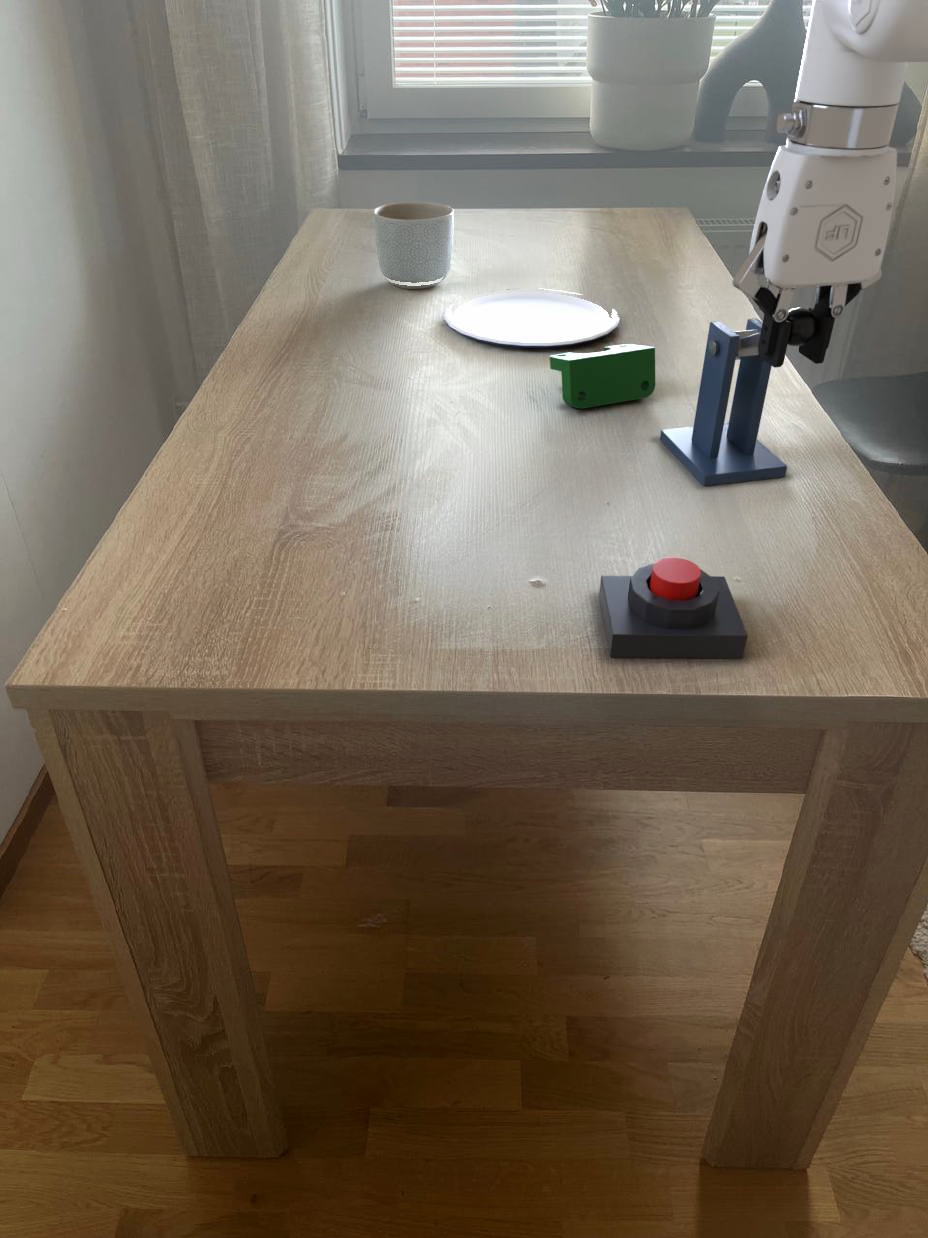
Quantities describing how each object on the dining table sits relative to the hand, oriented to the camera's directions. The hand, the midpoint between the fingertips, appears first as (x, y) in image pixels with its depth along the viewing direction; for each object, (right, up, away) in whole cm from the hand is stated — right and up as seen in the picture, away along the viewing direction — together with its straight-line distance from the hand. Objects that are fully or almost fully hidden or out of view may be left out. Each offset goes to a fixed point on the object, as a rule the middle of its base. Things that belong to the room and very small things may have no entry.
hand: (790, 358), depth 82 cm
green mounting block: (-13, +3, +29) cm, 31 cm away
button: (-13, -21, -11) cm, 27 cm away
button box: (-13, -24, -9) cm, 29 cm away
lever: (-1, +1, +3) cm, 4 cm away
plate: (-19, +19, +50) cm, 57 cm away
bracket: (-2, -6, +15) cm, 16 cm away
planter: (-37, +30, +65) cm, 81 cm away
